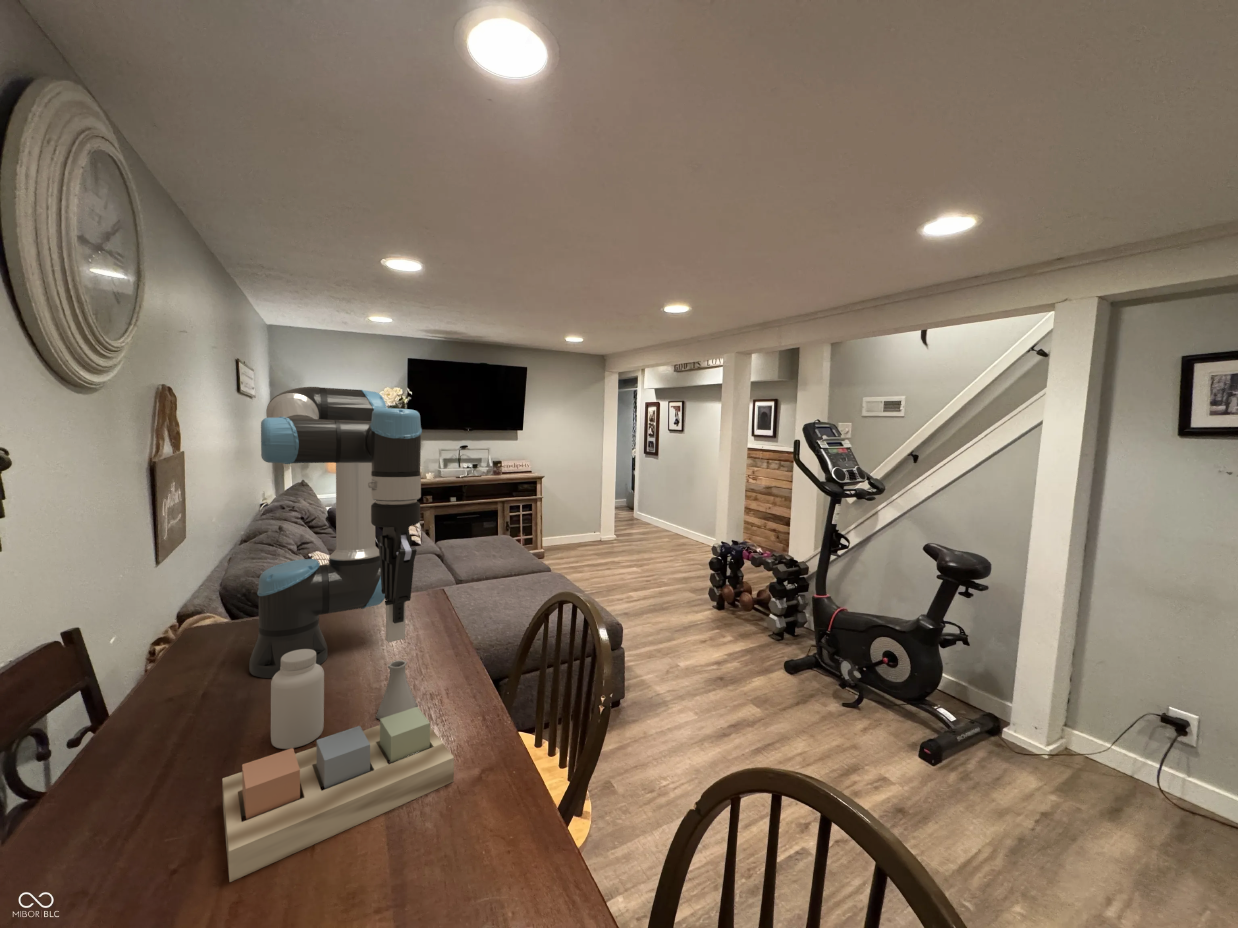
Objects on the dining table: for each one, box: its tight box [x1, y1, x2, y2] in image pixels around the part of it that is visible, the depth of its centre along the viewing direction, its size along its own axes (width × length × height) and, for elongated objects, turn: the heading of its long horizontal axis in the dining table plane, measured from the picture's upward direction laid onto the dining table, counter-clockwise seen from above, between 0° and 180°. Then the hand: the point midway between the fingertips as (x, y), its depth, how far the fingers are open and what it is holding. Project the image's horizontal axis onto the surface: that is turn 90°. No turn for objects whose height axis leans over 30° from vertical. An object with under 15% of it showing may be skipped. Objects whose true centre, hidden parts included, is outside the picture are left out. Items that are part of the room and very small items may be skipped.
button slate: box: [316, 725, 370, 789], centre depth 74 cm, size 6×6×4 cm
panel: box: [221, 724, 455, 883], centre depth 75 cm, size 16×28×4 cm, turn 131°
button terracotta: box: [241, 748, 300, 820], centre depth 69 cm, size 6×6×4 cm
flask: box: [375, 659, 419, 720], centre depth 96 cm, size 7×7×10 cm
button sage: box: [379, 706, 431, 764], centre depth 80 cm, size 6×6×4 cm
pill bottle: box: [270, 649, 325, 750], centre depth 87 cm, size 8×8×15 cm
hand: (395, 638), depth 83 cm, fingers closed
